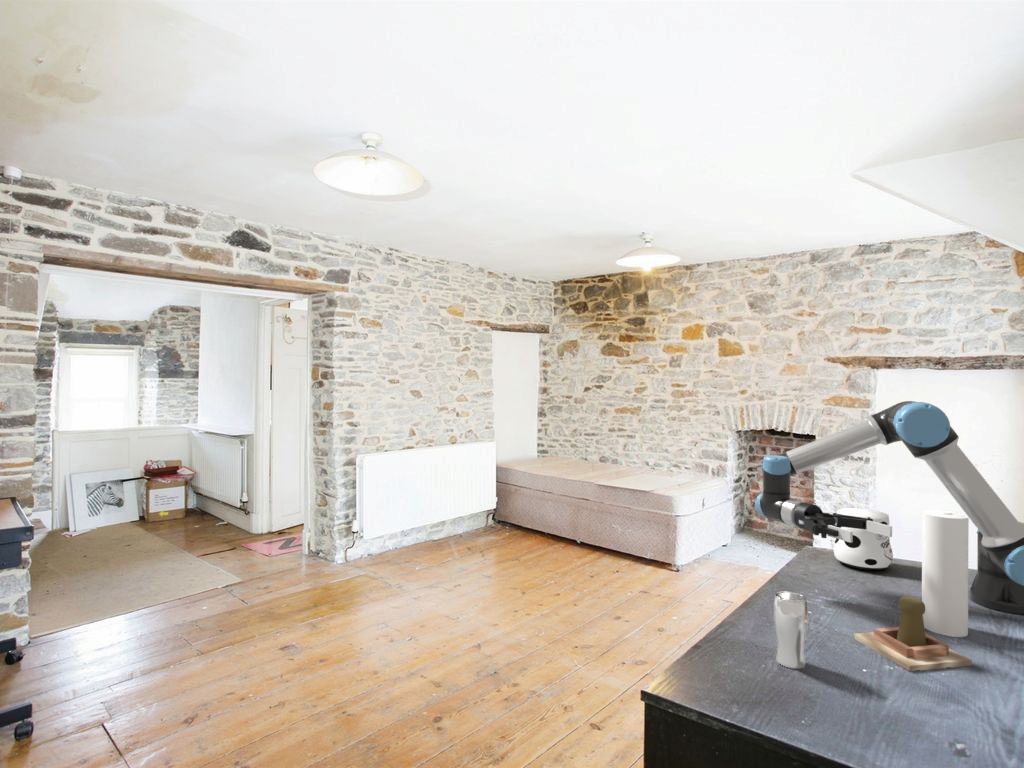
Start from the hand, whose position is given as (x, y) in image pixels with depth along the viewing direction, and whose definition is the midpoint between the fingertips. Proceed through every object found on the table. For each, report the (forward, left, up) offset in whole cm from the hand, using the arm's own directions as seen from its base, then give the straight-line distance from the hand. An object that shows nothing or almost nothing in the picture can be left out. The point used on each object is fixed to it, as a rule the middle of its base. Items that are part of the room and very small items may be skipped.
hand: (871, 534), depth 142 cm
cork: (-3, +9, -24) cm, 26 cm away
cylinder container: (-21, +1, -25) cm, 33 cm away
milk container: (-38, -46, -25) cm, 65 cm away
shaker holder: (-2, +10, -25) cm, 27 cm away
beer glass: (+29, +10, -25) cm, 40 cm away
